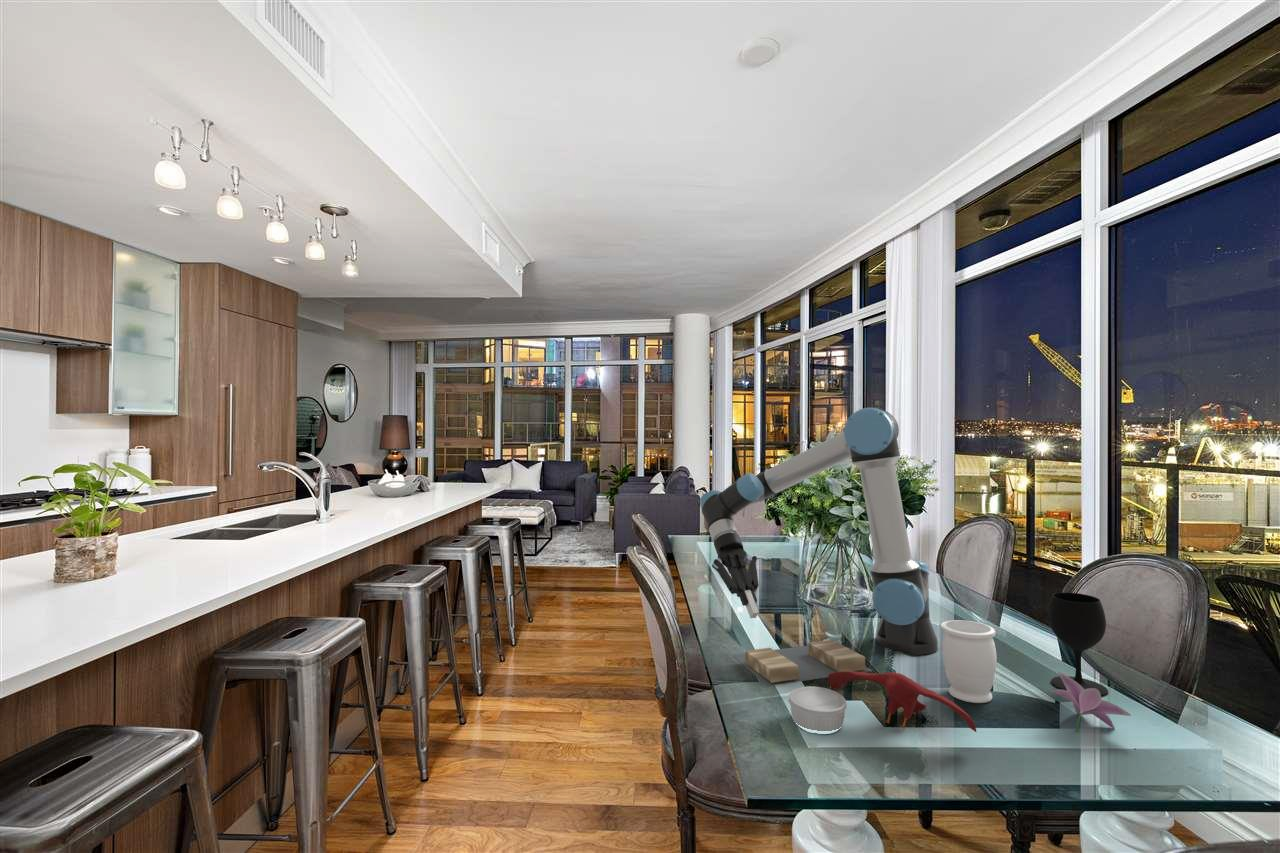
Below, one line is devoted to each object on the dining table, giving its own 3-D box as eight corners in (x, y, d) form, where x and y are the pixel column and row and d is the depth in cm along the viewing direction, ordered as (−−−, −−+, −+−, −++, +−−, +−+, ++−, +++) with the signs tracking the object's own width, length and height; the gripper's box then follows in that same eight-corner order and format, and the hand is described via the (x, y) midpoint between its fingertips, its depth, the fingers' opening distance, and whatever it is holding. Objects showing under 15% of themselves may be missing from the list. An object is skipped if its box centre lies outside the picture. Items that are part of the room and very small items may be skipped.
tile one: (808, 642, 154) (839, 660, 141) (832, 639, 156) (864, 656, 143) (808, 655, 154) (840, 674, 141) (832, 652, 156) (865, 670, 142)
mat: (826, 645, 162) (826, 643, 162) (873, 673, 143) (873, 670, 143) (732, 657, 155) (732, 655, 155) (767, 688, 136) (767, 685, 136)
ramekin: (839, 744, 111) (838, 715, 111) (781, 729, 117) (780, 702, 117) (852, 719, 120) (852, 692, 121) (798, 707, 126) (797, 682, 126)
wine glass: (1097, 680, 136) (1094, 593, 136) (1117, 699, 126) (1113, 605, 126) (1044, 675, 139) (1041, 590, 139) (1059, 694, 129) (1056, 602, 130)
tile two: (745, 650, 150) (770, 669, 136) (770, 647, 151) (798, 665, 138) (745, 664, 149) (771, 684, 136) (770, 660, 151) (798, 680, 138)
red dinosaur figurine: (838, 720, 129) (813, 683, 122) (851, 681, 134) (828, 644, 127) (983, 769, 109) (963, 729, 102) (992, 721, 114) (974, 680, 107)
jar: (977, 710, 123) (975, 637, 123) (933, 692, 132) (930, 624, 132) (1008, 699, 127) (1006, 629, 128) (963, 682, 137) (961, 616, 137)
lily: (1139, 752, 107) (1143, 698, 110) (1075, 727, 108) (1082, 674, 111) (1087, 741, 119) (1092, 692, 122) (1030, 717, 119) (1037, 670, 123)
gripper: (743, 545, 171) (773, 620, 155) (701, 548, 168) (727, 625, 151) (751, 529, 166) (782, 605, 150) (707, 532, 163) (735, 610, 146)
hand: (754, 615), depth 150 cm, fingers closed
